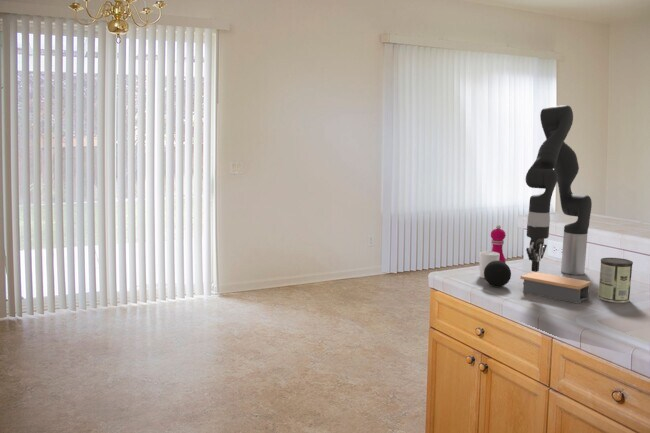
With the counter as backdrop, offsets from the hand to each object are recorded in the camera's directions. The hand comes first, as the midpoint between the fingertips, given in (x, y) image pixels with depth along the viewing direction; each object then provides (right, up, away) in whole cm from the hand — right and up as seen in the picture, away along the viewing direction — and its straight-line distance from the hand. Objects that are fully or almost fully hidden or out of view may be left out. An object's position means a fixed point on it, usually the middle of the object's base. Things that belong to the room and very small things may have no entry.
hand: (535, 271), depth 216 cm
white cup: (-10, -5, +26) cm, 28 cm away
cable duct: (+8, -9, +1) cm, 12 cm away
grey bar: (+7, -8, +1) cm, 11 cm away
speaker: (-11, -7, +12) cm, 17 cm away
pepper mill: (-4, -4, +35) cm, 36 cm away
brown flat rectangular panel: (+7, -4, 0) cm, 8 cm away
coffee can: (+27, -10, -3) cm, 29 cm away
